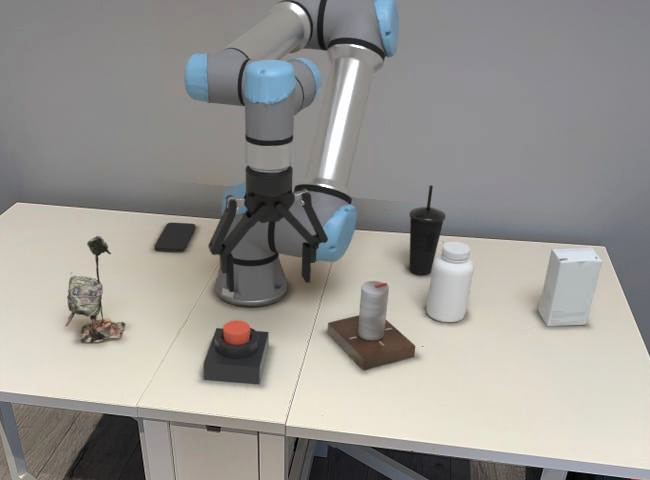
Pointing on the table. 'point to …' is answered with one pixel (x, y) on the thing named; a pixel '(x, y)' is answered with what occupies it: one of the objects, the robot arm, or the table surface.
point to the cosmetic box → (569, 286)
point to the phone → (175, 237)
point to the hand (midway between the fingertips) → (268, 284)
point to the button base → (236, 358)
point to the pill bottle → (450, 283)
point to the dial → (373, 310)
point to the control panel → (370, 344)
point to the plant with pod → (91, 301)
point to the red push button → (236, 332)
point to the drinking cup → (424, 237)
